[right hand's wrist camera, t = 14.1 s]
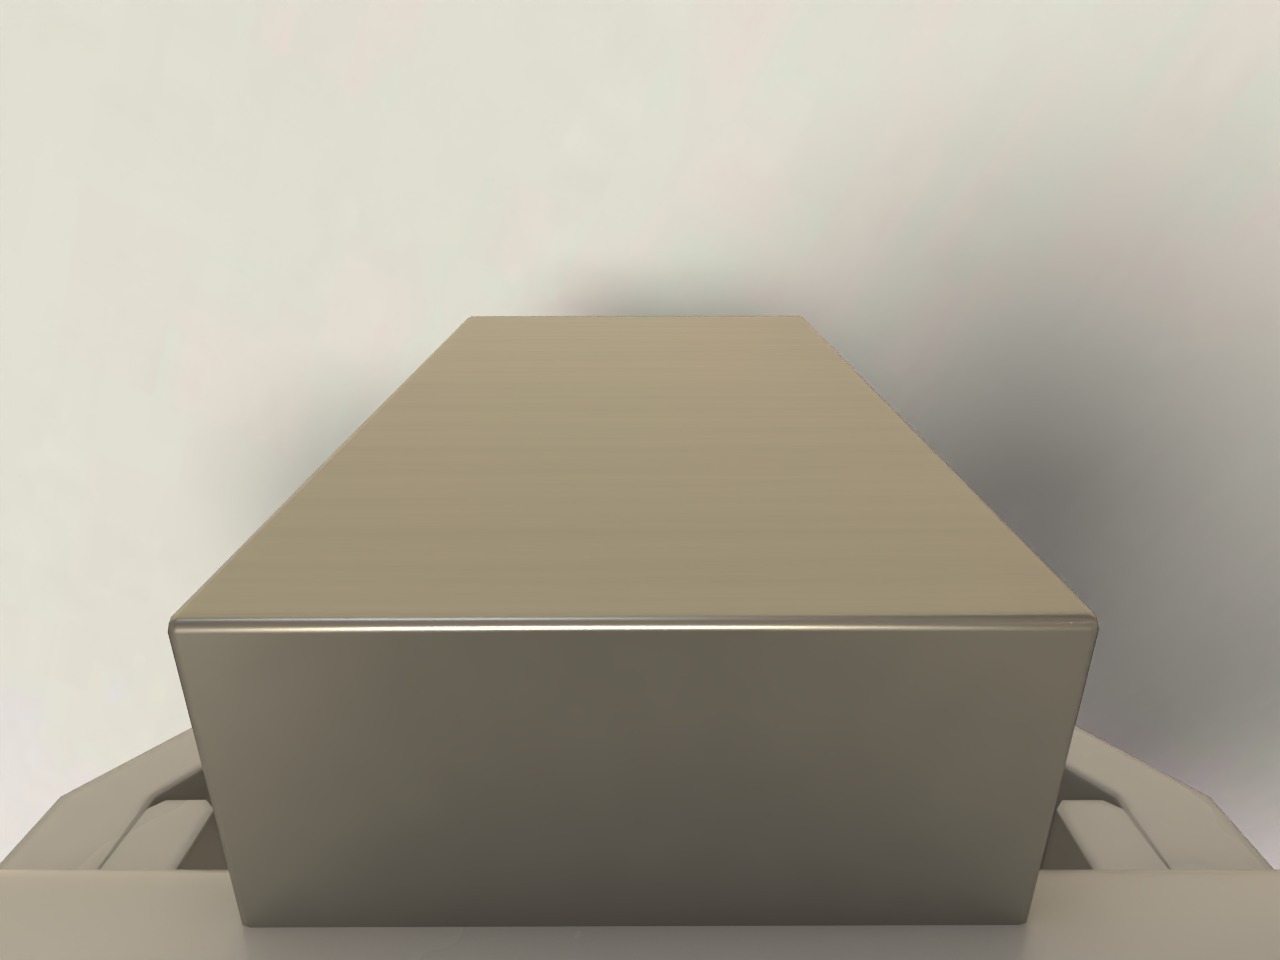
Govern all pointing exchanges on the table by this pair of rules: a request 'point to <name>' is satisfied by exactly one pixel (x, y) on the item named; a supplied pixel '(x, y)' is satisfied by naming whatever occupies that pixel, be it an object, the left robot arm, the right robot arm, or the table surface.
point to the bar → (633, 651)
